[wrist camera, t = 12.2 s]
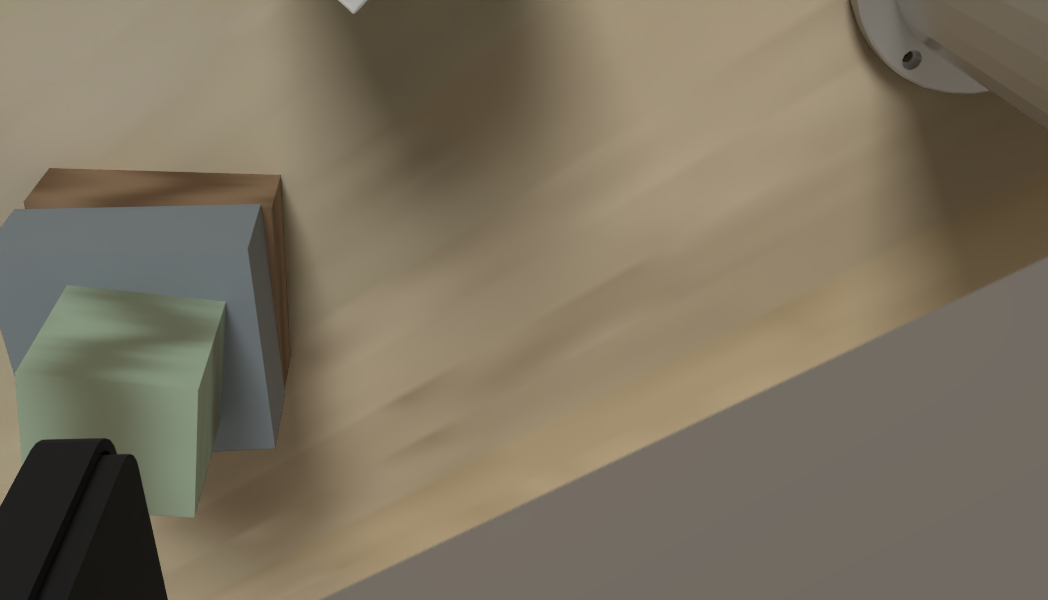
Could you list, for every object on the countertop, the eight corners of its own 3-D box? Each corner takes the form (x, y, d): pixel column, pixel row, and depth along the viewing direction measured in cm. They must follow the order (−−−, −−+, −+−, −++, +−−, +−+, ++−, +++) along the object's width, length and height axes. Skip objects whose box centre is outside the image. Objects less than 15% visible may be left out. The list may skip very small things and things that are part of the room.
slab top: (260, 204, 42) (247, 248, 39) (285, 394, 47) (275, 448, 44) (14, 209, 41) (-22, 255, 38) (66, 403, 46) (39, 459, 43)
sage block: (225, 301, 40) (198, 390, 35) (220, 420, 43) (194, 517, 38) (67, 284, 39) (14, 373, 34) (73, 407, 42) (25, 505, 37)
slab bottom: (281, 169, 46) (271, 208, 42) (291, 350, 51) (283, 397, 47) (53, 163, 44) (23, 201, 41) (86, 349, 50) (62, 397, 46)
